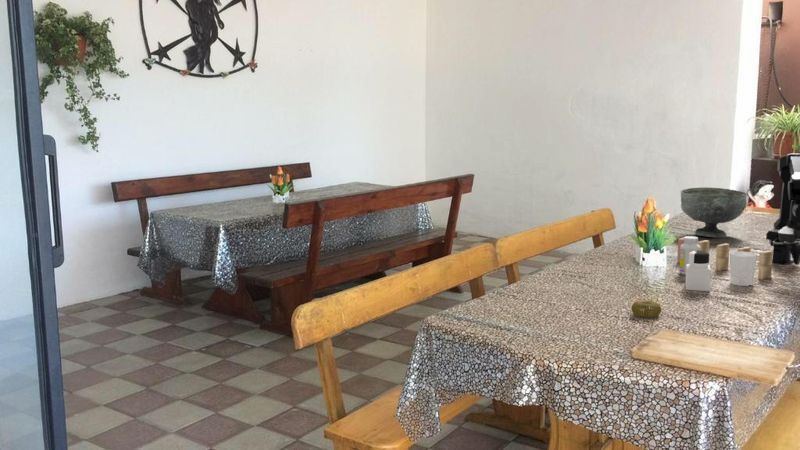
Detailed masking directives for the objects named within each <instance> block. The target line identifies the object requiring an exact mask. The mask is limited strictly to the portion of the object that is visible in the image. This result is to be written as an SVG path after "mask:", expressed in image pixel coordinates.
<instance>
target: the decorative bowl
mask: <svg viewBox="0 0 800 450" xmlns="http://www.w3.org/2000/svg"><path fill="white" fill-rule="evenodd" d="M747 197H748V192H744V191H741V190H739V191H738V190H734V189H729V188H720V187H707V186H706V187H689V188H686V189H684V188H683V189H682V190H681V191H680V201H681V203H680V208H681V210H682V212H683V213H684V215H687V216H688V217H689V218H690V219H691V220H693V221H696V222H701V223H704V225H705V226H704V227H699V228H696V230H695V231H694V233H695V235H696V236H700V237H709V238H716V239H717V238H719V239H721V238H726V237H727V233H726V232H725V231H724V230H723V229H720V228H718V224H726V223H730V222H732V221H734V220H736V219H737V218H738V217H740V216H741V215H742V213H744V210H745V209H746V208H747Z"/></svg>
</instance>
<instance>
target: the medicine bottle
mask: <svg viewBox="0 0 800 450" xmlns="http://www.w3.org/2000/svg"><path fill="white" fill-rule="evenodd" d="M711 279H712V269H711V265H710V252H709V253H707V252H704V251H692V252H690V253H689V264H686V275H685V290H686V291H695V292H696V291H697V292H700V291H701V292H710V291H711V284H712V283H711V281H712V280H711Z"/></svg>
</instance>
